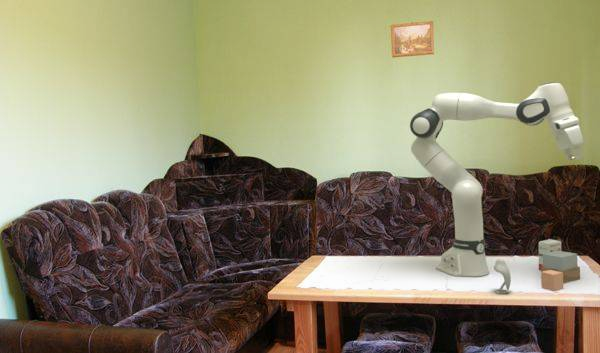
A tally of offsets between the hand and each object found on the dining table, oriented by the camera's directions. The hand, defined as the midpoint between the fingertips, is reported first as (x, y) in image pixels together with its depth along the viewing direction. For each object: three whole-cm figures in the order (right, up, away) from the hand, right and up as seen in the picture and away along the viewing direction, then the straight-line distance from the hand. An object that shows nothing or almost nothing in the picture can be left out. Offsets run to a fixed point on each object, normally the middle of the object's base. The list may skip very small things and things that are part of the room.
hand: (575, 159), depth 178 cm
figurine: (-29, -48, -5) cm, 56 cm away
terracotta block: (-10, -47, -4) cm, 48 cm away
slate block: (-2, -41, +7) cm, 41 cm away
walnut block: (-1, -46, +7) cm, 46 cm away
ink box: (+2, -45, +21) cm, 49 cm away
